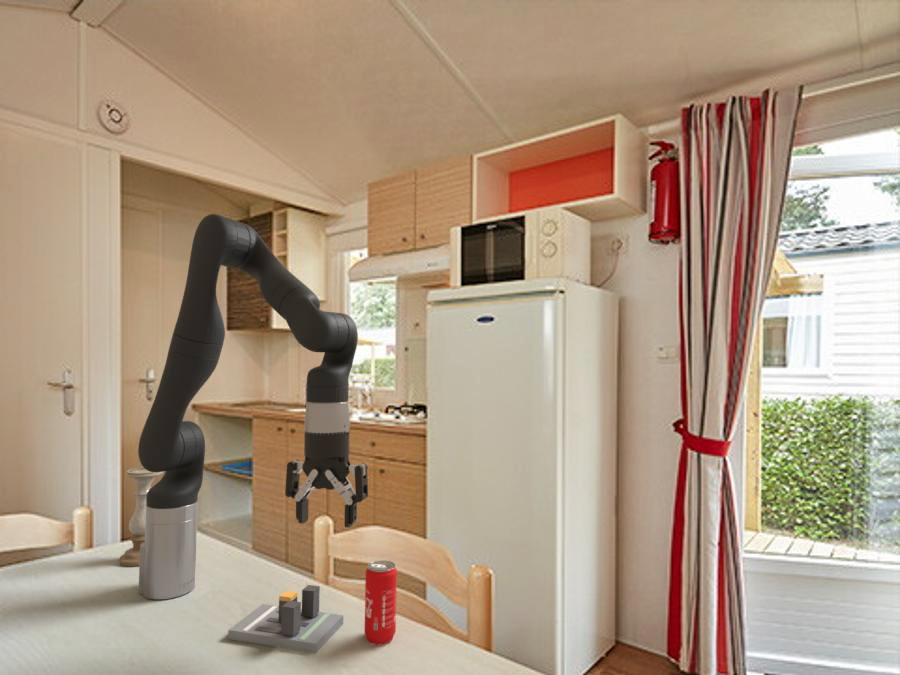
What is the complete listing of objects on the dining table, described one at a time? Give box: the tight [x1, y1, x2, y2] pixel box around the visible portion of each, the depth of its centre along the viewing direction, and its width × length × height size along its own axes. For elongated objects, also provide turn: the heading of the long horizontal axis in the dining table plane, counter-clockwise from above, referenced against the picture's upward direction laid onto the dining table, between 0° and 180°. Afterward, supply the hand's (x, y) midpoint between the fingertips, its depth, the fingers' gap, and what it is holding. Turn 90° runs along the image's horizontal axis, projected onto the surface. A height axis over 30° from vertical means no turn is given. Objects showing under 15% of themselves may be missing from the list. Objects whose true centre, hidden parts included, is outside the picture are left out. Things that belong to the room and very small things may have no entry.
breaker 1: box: [278, 590, 298, 623], centre depth 94 cm, size 2×2×4 cm
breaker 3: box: [301, 584, 321, 618], centre depth 97 cm, size 2×2×4 cm
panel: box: [227, 603, 344, 654], centre depth 94 cm, size 16×10×2 cm, turn 76°
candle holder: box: [118, 466, 164, 567], centre depth 126 cm, size 9×9×20 cm
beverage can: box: [364, 560, 398, 646], centre depth 92 cm, size 5×5×12 cm
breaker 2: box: [281, 601, 302, 636], centre depth 90 cm, size 2×2×4 cm
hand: (326, 524), depth 93 cm, fingers open, 8 cm apart
